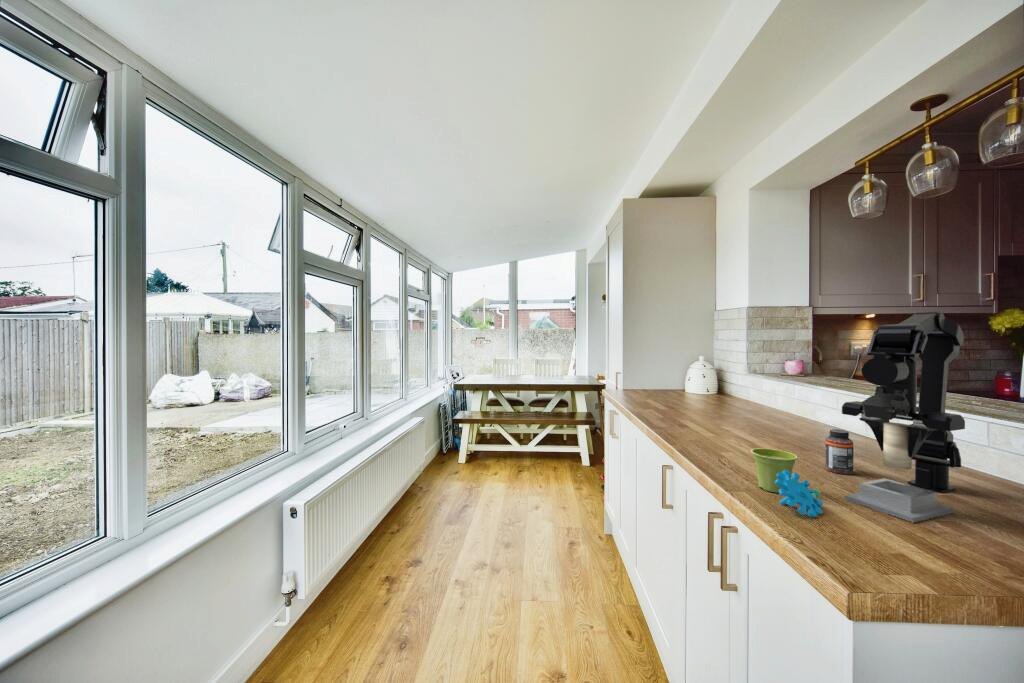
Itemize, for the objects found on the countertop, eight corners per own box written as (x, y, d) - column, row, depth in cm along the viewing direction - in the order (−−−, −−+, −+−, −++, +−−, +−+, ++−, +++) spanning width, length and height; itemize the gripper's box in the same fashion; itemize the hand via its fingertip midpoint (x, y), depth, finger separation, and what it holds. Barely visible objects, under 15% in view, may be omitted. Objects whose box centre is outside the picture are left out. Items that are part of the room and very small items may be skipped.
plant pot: (753, 479, 102) (754, 445, 102) (798, 487, 96) (798, 452, 96) (747, 489, 95) (747, 453, 95) (795, 500, 89) (796, 461, 89)
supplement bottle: (828, 466, 112) (828, 426, 112) (855, 472, 108) (855, 430, 107) (822, 471, 108) (822, 430, 108) (850, 476, 104) (851, 434, 104)
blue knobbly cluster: (798, 514, 78) (770, 467, 85) (776, 525, 82) (752, 479, 89) (839, 515, 81) (809, 470, 88) (816, 526, 85) (789, 482, 92)
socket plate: (883, 491, 94) (883, 487, 94) (953, 512, 82) (953, 508, 82) (844, 499, 89) (844, 495, 89) (912, 523, 78) (912, 518, 78)
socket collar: (884, 491, 91) (884, 478, 91) (936, 506, 83) (936, 492, 83) (859, 496, 88) (859, 483, 88) (910, 513, 80) (911, 498, 80)
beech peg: (890, 461, 88) (891, 421, 88) (916, 467, 84) (916, 425, 84) (878, 463, 87) (878, 423, 87) (903, 470, 83) (904, 427, 83)
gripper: (826, 379, 92) (825, 446, 92) (934, 389, 74) (933, 472, 74) (857, 377, 95) (856, 442, 95) (966, 387, 78) (966, 465, 78)
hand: (897, 454), depth 86 cm, fingers closed on beech peg, 4 cm apart
